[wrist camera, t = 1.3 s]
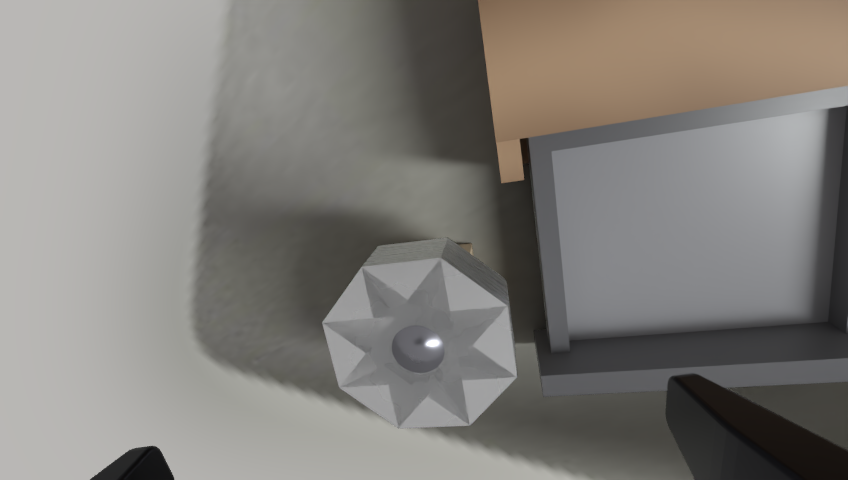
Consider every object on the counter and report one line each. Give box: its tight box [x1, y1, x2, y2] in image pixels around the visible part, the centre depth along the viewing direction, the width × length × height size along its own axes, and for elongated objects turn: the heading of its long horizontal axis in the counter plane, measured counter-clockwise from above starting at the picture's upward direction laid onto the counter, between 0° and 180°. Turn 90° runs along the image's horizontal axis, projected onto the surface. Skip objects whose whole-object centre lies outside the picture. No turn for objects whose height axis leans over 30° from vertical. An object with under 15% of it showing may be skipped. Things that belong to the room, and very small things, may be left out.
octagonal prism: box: [322, 237, 517, 428], centre depth 18 cm, size 7×7×2 cm
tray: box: [526, 86, 848, 397], centre depth 18 cm, size 11×13×4 cm
